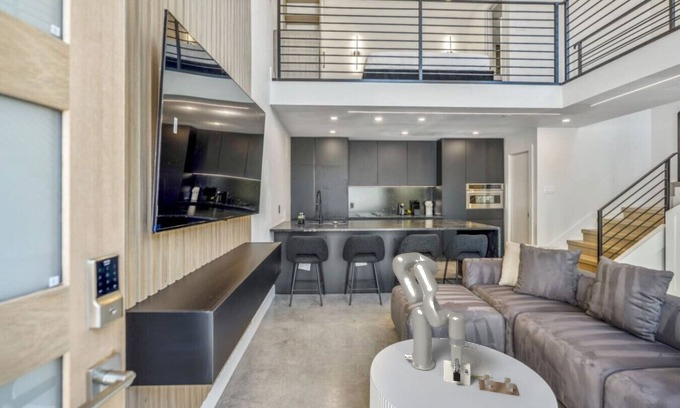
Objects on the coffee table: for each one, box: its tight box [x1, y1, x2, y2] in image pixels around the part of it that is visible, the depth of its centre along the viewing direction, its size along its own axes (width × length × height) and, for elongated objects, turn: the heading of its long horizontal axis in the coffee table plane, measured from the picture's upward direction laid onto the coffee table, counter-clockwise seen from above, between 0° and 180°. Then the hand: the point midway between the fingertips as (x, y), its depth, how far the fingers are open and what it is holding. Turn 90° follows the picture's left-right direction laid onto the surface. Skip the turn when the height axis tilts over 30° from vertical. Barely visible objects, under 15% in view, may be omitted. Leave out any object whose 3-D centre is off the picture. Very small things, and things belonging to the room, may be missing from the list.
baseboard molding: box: [462, 345, 493, 379], centre depth 182 cm, size 31×3×12 cm
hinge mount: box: [478, 374, 520, 397], centre depth 157 cm, size 16×8×4 cm, turn 72°
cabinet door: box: [443, 359, 471, 386], centre depth 162 cm, size 12×4×9 cm, turn 72°
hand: (456, 375), depth 163 cm, fingers open, 9 cm apart
